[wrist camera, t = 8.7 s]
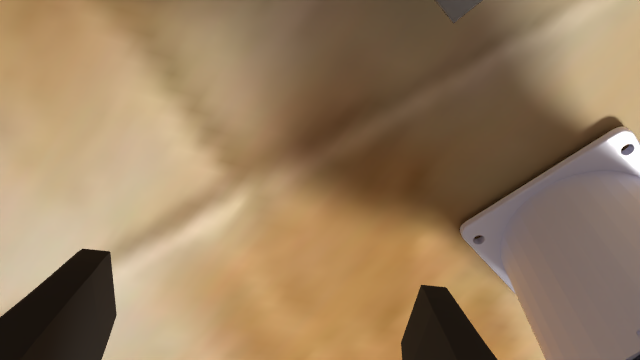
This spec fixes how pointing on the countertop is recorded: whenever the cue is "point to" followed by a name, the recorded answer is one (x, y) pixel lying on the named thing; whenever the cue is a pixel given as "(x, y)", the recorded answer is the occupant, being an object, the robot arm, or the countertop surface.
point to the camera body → (456, 7)
